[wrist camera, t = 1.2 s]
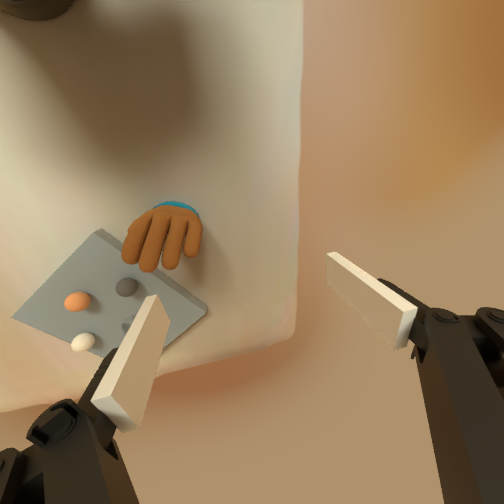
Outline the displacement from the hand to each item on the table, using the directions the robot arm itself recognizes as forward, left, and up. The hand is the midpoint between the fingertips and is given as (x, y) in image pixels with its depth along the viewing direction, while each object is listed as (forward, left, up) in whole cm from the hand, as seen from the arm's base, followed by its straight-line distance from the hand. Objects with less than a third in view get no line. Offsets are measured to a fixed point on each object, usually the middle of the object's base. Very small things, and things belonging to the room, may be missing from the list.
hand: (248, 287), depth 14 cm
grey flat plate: (-1, -30, -25) cm, 39 cm away
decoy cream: (-2, -38, -21) cm, 44 cm away
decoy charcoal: (-4, -22, -21) cm, 31 cm away
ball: (-8, -30, -21) cm, 37 cm away
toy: (-7, -8, -25) cm, 27 cm away
